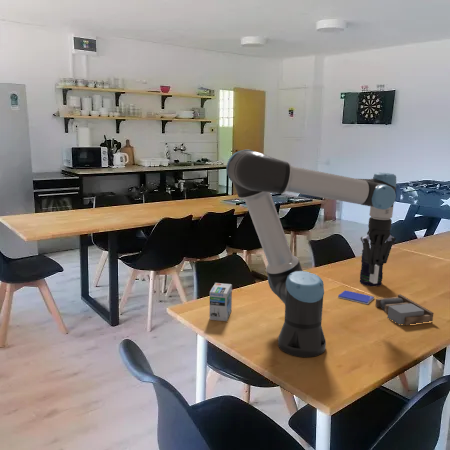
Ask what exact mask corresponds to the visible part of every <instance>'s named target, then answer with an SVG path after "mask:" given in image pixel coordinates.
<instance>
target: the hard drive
mask: <svg viewBox="0 0 450 450" xmlns="http://www.w3.org/2000/svg"><path fill="white" fill-rule="evenodd" d="M337 296H338V297H337V298H338V299H343V300H346V301H352V302H355V303H360V304H364V305H369V304H370V303H371V302H372V301H373V300H374V299H375V296H372V295H367V294H363V293H359V292H355V291H350V290H346V289H345V290H343V291H341V293H340V294H338V295H337Z"/></svg>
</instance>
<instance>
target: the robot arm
mask: <svg viewBox="0 0 450 450" xmlns="http://www.w3.org/2000/svg"><path fill="white" fill-rule="evenodd" d="M225 168H226V174H227V176H228V179H229V180H230V181H231V183H232V184H233V187H234V189H235V191H236V194H237V197H238V198H239V199H241V200H243V201H244V202H245V205H246V208H247V210H248V212H249V215H250V218H251V220H252V224H253V226H254V229H255V232H256V234H257V236H258V237H257V238H258V239H259V243H260V245H261V248H262V251H263V252H264V256H265V258H266V261H267V265H266V268H265V272H266V274H267V282H268V285H269V288H270V289H271V291H272V292H273V294H275V296H277V297H278V298H279V300H281V302H282V303H283V304H284V305H285V306H284V322H283V325H282V327H281V328H280V329H281V330H280V332H279V334H278V338H277V347H278V348H279V349H280V350H281V351H282V352H284V353H285V354H288V355H290V356H294V357H299V358H314V357H318V356H320V355H322V354H323V353H325V351H326V347H327V346H326V345H327V342H326V341H327V340H326V338H325V334H324V330H323V325H322V320H323V318H322V317H323V306H324V304H323V303H324V296H325V295H324V294H325V285H324V281H323V279H322V278H321V277H320V276H319V275H317V274H316V273H311V272H309V271H305V270H303V268H302V265H301V263H300V260H299V258H298V257H297V256H295V255H293V253H292V251H291V247H290V245H289V242H288V239H287V237H286V234H285V232H284V231H285V230H284V228H283V226H282V222H281V219H280V217H279V216H280V215H279V213H278V212H277V207H276V205H275V202H274V199H273V197H272V194H271V193H275V194H279V195H280V194H281V195H283V194H285V193H286V192H289V193H294V194H300V195H305V196H306V195H307V196H310V197H311V196H312V197H317V198H323V199H327V200H332V201H338V202H339V201H340V202H344V203H345V202H346V203H351V204H356V205H361V206H365V207H370V208H369V216H370V217H369V219H368V224H367V225H368V231H367V232H366V234H365V236H361V237H360V241H361V243H362V250H363V251H364V260H365V262H366V263H368V264H369V273H370V279H369V281H370V282H372V283H373V284H377V281H378V274H380V270H381V266H384V264H387V262H388V259H389V257H390V256H389V255H390V253H391V250H392V248H393V244H394V243H395V241H396V239H397V238H396V237H394V236H392V235H391V229H392V218H393V215H394V204H395V203H396V198H397V196H396V189H397V175H396V174H394V173H390V172H375V173H373V178H353V177H349V176H343V175H338V174H333V173H328V172H324V171H319V170H313V169H308V168H304V167H303V168H302V167H299V166H293V165H291V163H290V162H289V161H286V160H281V159H277V158H275V157H272V156H270V155H267V154H265V153H262V152H259V151H254V150H253V149H243V150H239V151H236V152H234V153H233V154H232V155H231V156H230V157H229V159H228V161H227V163H226V167H225Z"/></svg>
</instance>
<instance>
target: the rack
mask: <svg viewBox="0 0 450 450" xmlns="http://www.w3.org/2000/svg"><path fill="white" fill-rule="evenodd" d="M394 298H402V299H403V301H404V303H397V304H387V305H385V310H383V312H384V313H385V314H388V307H389V306H392V305H401V304H410V303H411V304H413V305H415V306H417V307H419V308H421V309H422V310H424V315H421V316H412V317H405V322H404V324H405V325H410V324H416V323H423V322H429V321H434V312H433V311H431V310H430V309H428V308H426V307H424V306H423V305H420V304H418V303H417V302H416V301H414V300H411V299H410V298H407V297H406V296H404V295H402V294H401V293H400V294H397V296H396V297H395V296H394V297H384V298H382V297H381V298H375V304H374V305H375V308H381V307H380V301H381V300H384V299H394ZM405 325H404V326H405Z"/></svg>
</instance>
